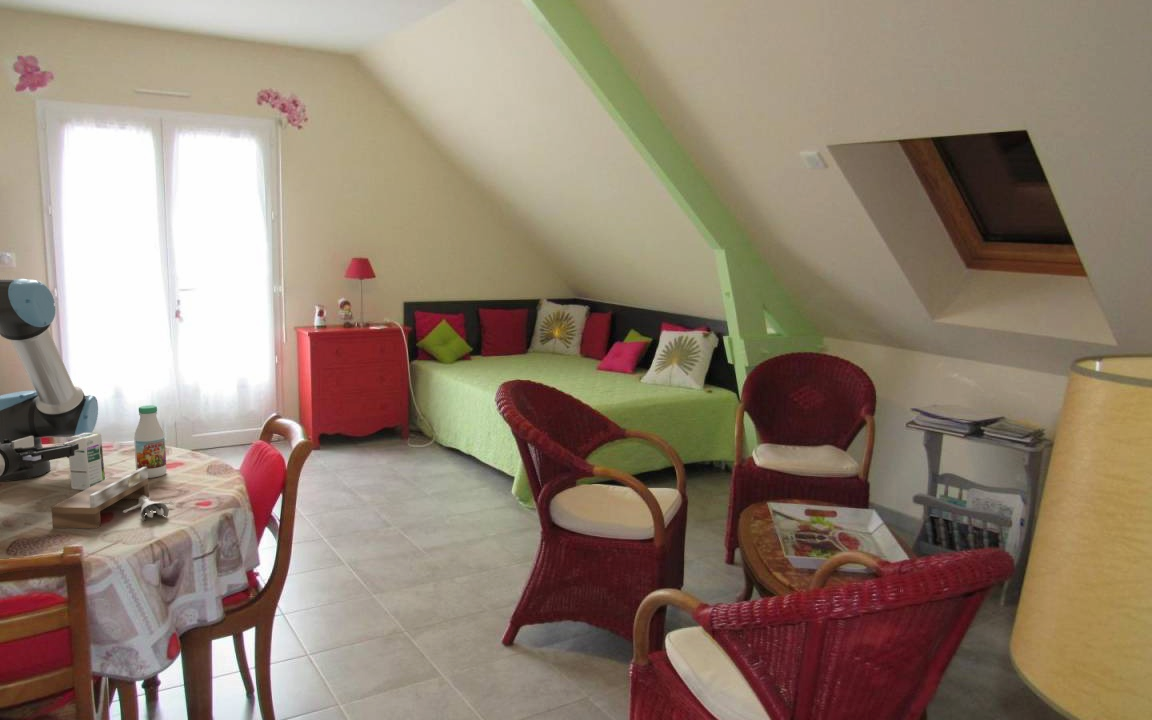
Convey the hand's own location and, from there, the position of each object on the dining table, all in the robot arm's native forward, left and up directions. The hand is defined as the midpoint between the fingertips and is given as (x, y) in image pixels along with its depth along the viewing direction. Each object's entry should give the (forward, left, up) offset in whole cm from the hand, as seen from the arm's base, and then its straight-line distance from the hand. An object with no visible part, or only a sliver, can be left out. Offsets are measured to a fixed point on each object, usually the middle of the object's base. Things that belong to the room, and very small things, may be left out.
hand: (57, 441), depth 205 cm
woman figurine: (+9, +27, -16) cm, 33 cm away
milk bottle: (-22, +12, -15) cm, 30 cm away
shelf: (+9, +16, -15) cm, 23 cm away
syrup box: (-10, +1, -15) cm, 19 cm away
